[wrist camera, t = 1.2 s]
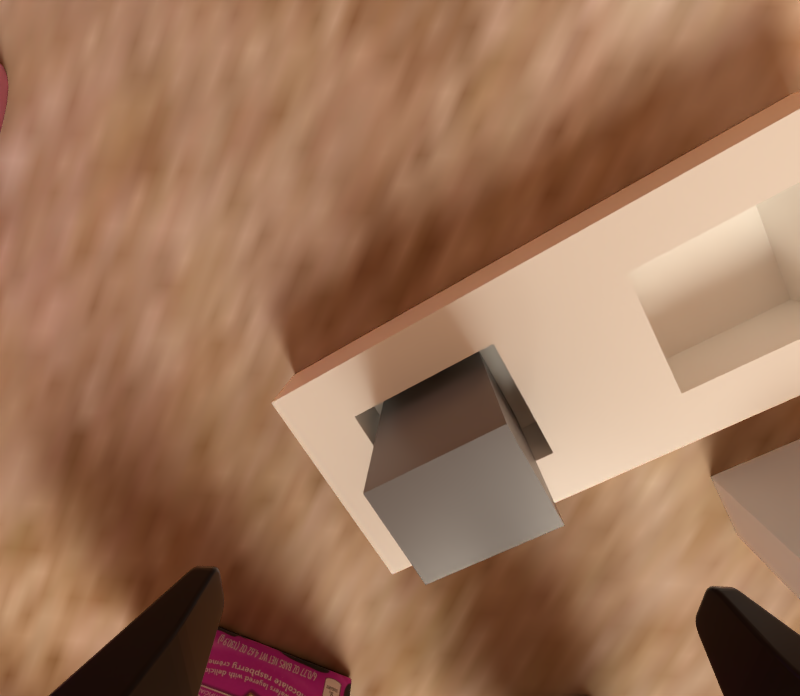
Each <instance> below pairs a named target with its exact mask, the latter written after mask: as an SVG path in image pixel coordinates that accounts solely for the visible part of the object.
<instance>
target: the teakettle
mask: <svg viewBox="0 0 800 696" xmlns="http://www.w3.org/2000/svg"><path fill="white" fill-rule="evenodd" d="M7 97H8V79H7V74H6V72H5V69H4V67H3V66H2V65H1V64H0V132H1V128H2V124H3V119H4V114H5V110H6V105H7Z"/></svg>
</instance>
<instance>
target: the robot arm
mask: <svg viewBox="0 0 800 696" xmlns="http://www.w3.org/2000/svg"><path fill="white" fill-rule="evenodd" d="M223 607H224V594H223V588H222V582H221V576H220V572H219V569H218V568H217V567H212V566H197V567H194V568H193V569H191V570H190V571H189V572H188V573H187V574H186V575H184V576H183V577H182V578H181V579H180V580H179V581H178V582H177V583H175V584H174V585H173V586H172V587H171V588H170V589H169V590H167V591H166V592H165V593H164V594H163V595H162V596H161V597H160V598H158V599H157V600H156V601H155V602H154V603H153V604H152V605H151V606H149V607H148V608H147V609H146V610H145V611H144V612H143V613H141V614H140V615H139V616H138V617H137V618H136V619H135V620H134V621H132V622H131V623H130V624H129V625H128V626H127V627H126V628H125V629H123V630H122V631H121V632H120V633H119V634H118V635H117V636H115V637H114V638H113V639H112V640H111V641H110V642H109V643H108V644H106V645H105V646H104V647H103V648H102V649H101V650H100V651H99V652H97V653H96V654H95V655H94V656H93V657H92V658H91V659H89V660H88V661H87V662H86V663H85V664H84V665H83V666H82V667H80V668H79V669H78V670H77V671H76V672H75V673H74V674H73V675H71V676H70V677H69V678H68V679H67V680H66V681H65V682H63V683H62V684H61V685H60V686H59V687H58V688H57V689H56V690H54V691H53V692H52V693H51V694H50V695H49V696H198V693H199V690H200V687H201V684H202V680H203V677H204V673H205V670H206V667H207V663H208V660H209V656H210V653H211V649H212V646H213V643H214V639H215V636H216V632H217V629H218V626H219V622H220V619H221V615H222V612H223ZM696 627H697V631H698V634H699V636H700V639H701V641H702V644H703V646H704V649H705V651H706V654H707V656H708V658H709V661H710V663H711V666H712V668H713V671H714V673H715V676H716V678H717V681H718V683H719V686H720V688H721V691H722V693H723V695H724V696H800V635H799V634H797V633H796V632H795V631H793V630H792V629H791V628H789V627H788V626H787V625H785V624H784V623H782V622H781V621H780V620H778V619H777V618H776V617H774V616H773V615H772V614H770V613H769V612H767V611H766V610H765V609H763V608H762V607H761V606H759V605H758V604H756V603H755V602H754V601H752V600H751V599H750V598H748V597H747V596H746V595H744V594H743V593H741V592H740V591H738V590H737V589H735V588H732V587H719V586H712V587H709V588H708V589H707V590H706V592H705V594H704V597H703V600H702V602H701V605H700V607H699V610H698V612H697V615H696Z"/></svg>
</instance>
